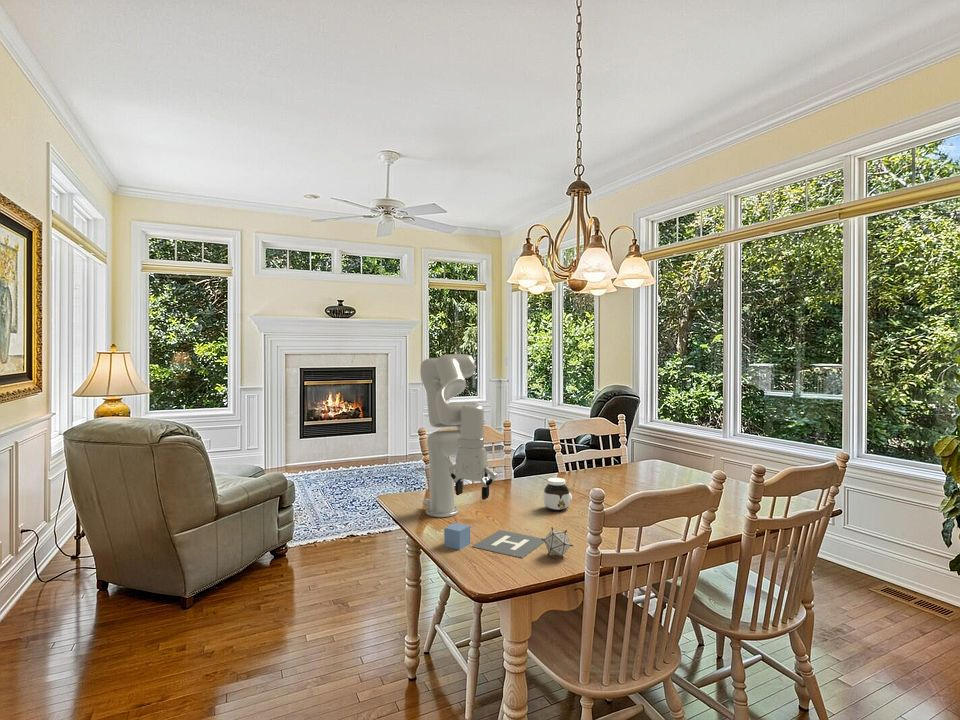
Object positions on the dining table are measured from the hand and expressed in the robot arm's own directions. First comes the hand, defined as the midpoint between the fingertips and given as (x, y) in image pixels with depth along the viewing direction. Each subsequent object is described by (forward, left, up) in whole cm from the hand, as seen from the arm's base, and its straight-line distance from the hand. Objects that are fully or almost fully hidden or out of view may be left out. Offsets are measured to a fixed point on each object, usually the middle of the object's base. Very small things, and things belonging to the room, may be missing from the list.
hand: (472, 496), depth 170 cm
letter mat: (+10, +8, -16) cm, 20 cm away
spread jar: (+8, +52, -16) cm, 55 cm away
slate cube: (-4, -2, -16) cm, 17 cm away
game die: (+25, +7, -15) cm, 30 cm away
